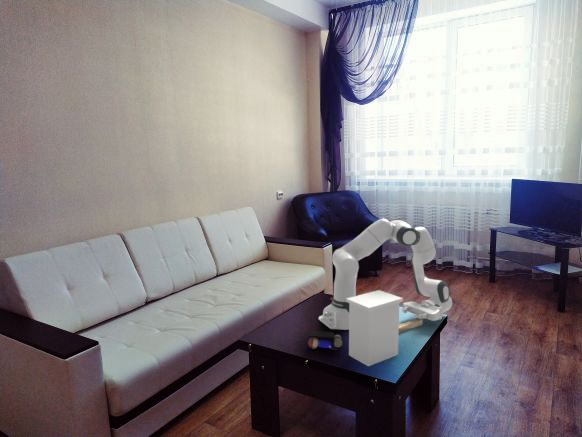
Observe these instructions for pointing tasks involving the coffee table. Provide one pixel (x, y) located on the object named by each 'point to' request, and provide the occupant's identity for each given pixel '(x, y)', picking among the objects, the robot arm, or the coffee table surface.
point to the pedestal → (373, 326)
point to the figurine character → (315, 343)
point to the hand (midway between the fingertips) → (410, 314)
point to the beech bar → (410, 324)
